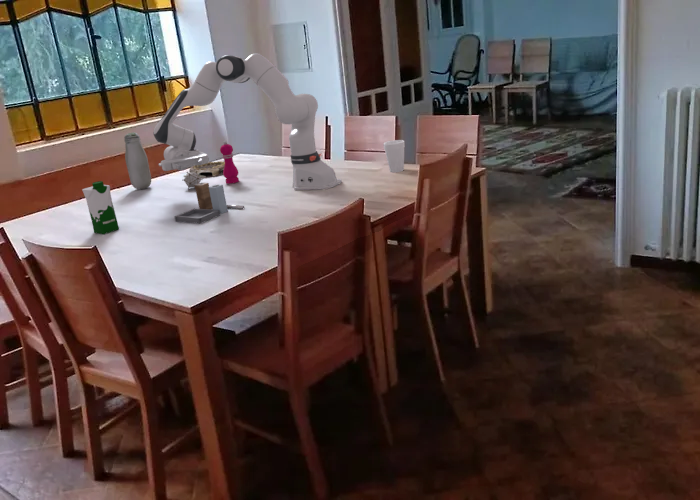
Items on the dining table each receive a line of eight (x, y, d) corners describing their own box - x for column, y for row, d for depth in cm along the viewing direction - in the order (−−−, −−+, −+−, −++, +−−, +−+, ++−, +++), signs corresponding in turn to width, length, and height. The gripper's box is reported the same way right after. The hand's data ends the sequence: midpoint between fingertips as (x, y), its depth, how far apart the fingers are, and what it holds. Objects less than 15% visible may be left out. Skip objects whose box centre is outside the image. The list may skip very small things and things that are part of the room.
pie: (180, 174, 370) (178, 165, 368) (229, 165, 380) (227, 156, 378) (191, 182, 345) (189, 172, 344) (243, 172, 355) (242, 162, 354)
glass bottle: (141, 191, 337) (128, 135, 328) (128, 190, 343) (115, 135, 334) (157, 186, 345) (145, 130, 336) (144, 185, 351) (132, 130, 342)
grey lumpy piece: (199, 194, 333) (208, 175, 333) (192, 192, 325) (202, 173, 324) (183, 186, 334) (192, 167, 334) (176, 184, 326) (185, 165, 326)
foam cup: (384, 173, 308) (381, 145, 304) (389, 168, 316) (386, 140, 312) (404, 172, 305) (402, 143, 301) (409, 167, 314) (406, 139, 309)
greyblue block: (227, 211, 280) (222, 184, 276) (220, 213, 277) (215, 187, 273) (220, 210, 282) (215, 184, 279) (213, 213, 279) (208, 186, 276)
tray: (220, 215, 275) (219, 210, 274) (200, 223, 267) (199, 218, 266) (195, 213, 283) (194, 208, 282) (175, 221, 274) (174, 216, 274)
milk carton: (103, 235, 268) (90, 185, 262) (90, 233, 274) (78, 184, 267) (122, 228, 274) (110, 179, 268) (110, 226, 280) (98, 178, 273)
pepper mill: (238, 182, 329) (231, 141, 322) (223, 184, 329) (215, 143, 323) (241, 179, 335) (233, 138, 329) (226, 181, 336) (218, 140, 329)
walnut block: (213, 208, 287) (208, 182, 283) (206, 211, 284) (201, 185, 280) (206, 208, 289) (201, 182, 286) (199, 210, 286) (194, 184, 283)
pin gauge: (241, 206, 279) (242, 210, 280) (243, 204, 280) (244, 208, 281) (223, 205, 285) (224, 209, 285) (225, 203, 286) (226, 207, 286)
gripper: (156, 156, 298) (164, 162, 287) (201, 148, 307) (211, 153, 295) (158, 171, 300) (167, 176, 289) (203, 162, 309) (213, 167, 298)
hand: (189, 165), depth 292 cm, fingers open, 8 cm apart
